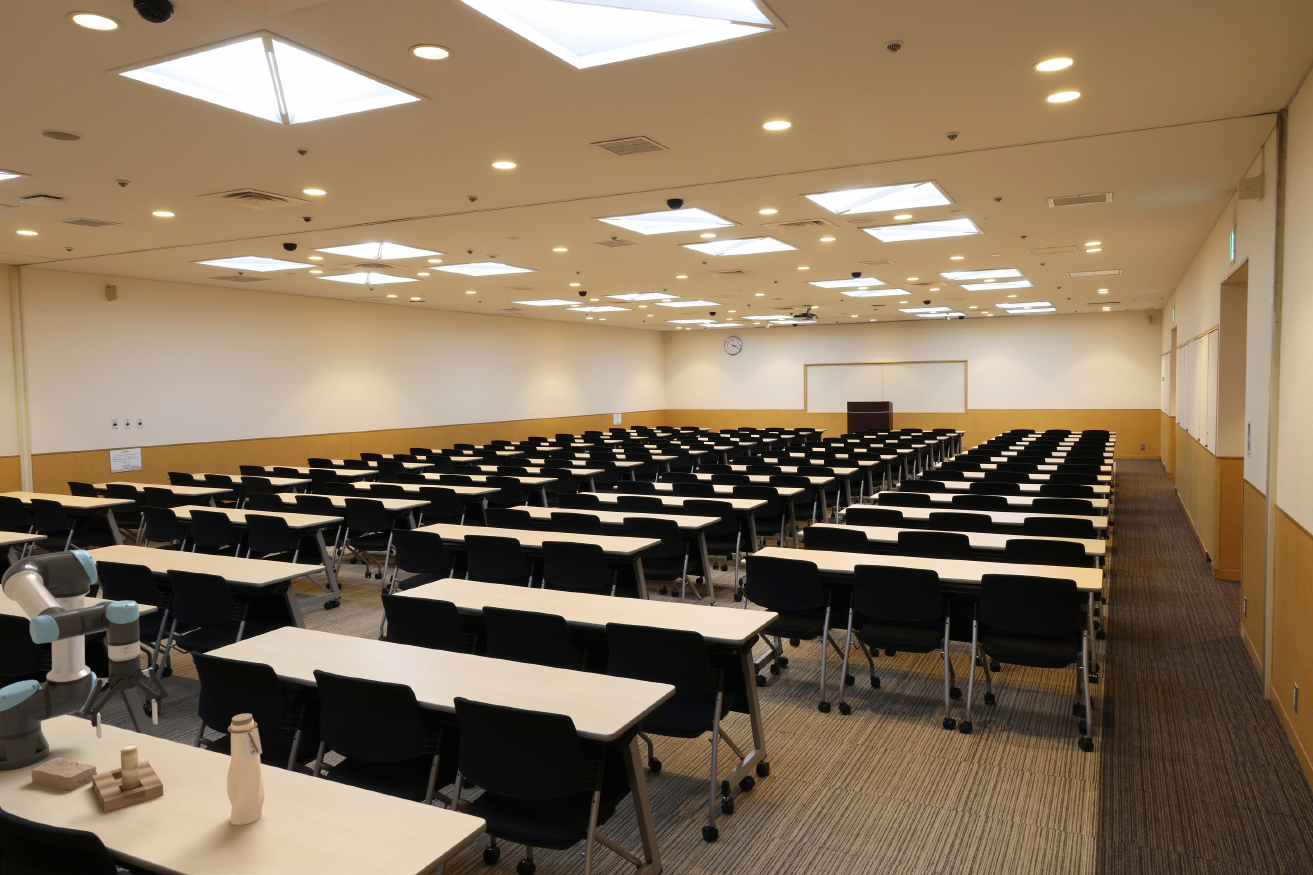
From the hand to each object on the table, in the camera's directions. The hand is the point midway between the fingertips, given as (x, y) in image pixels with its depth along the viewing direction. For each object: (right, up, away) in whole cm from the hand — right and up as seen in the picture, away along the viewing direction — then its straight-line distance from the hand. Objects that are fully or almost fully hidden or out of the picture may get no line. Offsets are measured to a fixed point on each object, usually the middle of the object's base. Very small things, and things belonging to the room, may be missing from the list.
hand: (127, 729), depth 232 cm
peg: (0, -19, +1) cm, 19 cm away
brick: (-26, -19, +11) cm, 34 cm away
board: (-3, -19, +5) cm, 20 cm away
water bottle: (+39, -20, -10) cm, 46 cm away
